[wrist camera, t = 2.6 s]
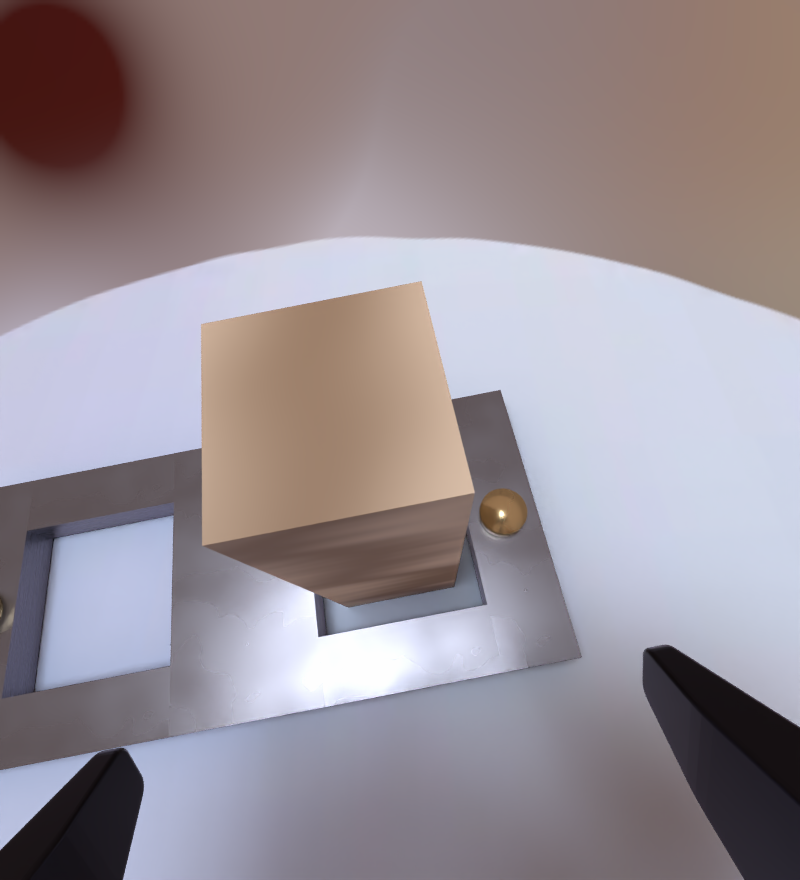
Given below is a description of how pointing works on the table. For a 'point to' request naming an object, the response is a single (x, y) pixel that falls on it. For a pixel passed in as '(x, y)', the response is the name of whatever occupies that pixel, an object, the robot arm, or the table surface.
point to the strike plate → (263, 609)
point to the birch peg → (334, 447)
